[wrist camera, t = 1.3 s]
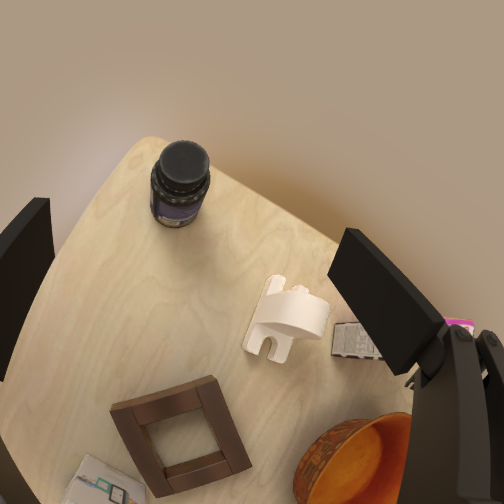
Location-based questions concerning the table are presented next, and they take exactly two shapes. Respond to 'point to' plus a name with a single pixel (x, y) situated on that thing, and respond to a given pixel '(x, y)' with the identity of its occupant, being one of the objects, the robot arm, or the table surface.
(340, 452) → the bowl
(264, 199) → the table surface
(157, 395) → the dock
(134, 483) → the ink box
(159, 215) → the pill bottle
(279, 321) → the cable organizer
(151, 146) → the table surface
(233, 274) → the table surface
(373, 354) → the candy bar box
